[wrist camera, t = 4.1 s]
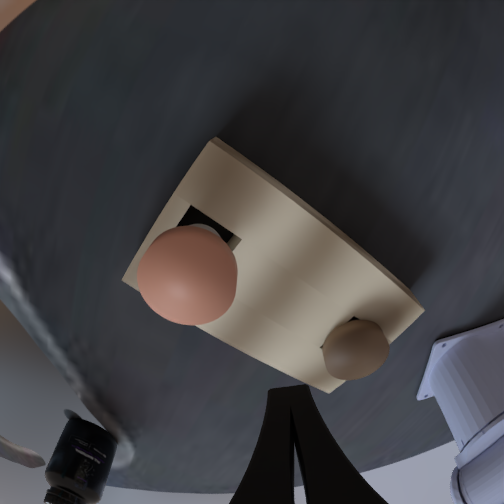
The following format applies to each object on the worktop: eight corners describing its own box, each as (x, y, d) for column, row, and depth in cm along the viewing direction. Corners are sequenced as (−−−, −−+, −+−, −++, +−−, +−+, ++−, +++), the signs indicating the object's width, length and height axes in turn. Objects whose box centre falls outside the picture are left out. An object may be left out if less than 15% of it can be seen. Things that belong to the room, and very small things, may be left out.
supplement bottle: (110, 424, 27) (81, 515, 16) (123, 452, 30) (103, 530, 19) (59, 410, 27) (24, 490, 16) (77, 439, 30) (51, 511, 19)
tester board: (409, 289, 20) (424, 310, 17) (323, 369, 23) (329, 393, 20) (215, 136, 15) (209, 140, 13) (135, 260, 19) (121, 280, 16)
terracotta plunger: (232, 201, 14) (226, 230, 11) (245, 276, 16) (244, 320, 13) (151, 214, 14) (124, 245, 11) (171, 285, 16) (154, 328, 13)
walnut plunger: (374, 292, 19) (393, 326, 16) (369, 338, 21) (384, 373, 18) (315, 302, 19) (325, 339, 16) (316, 347, 21) (325, 384, 18)
